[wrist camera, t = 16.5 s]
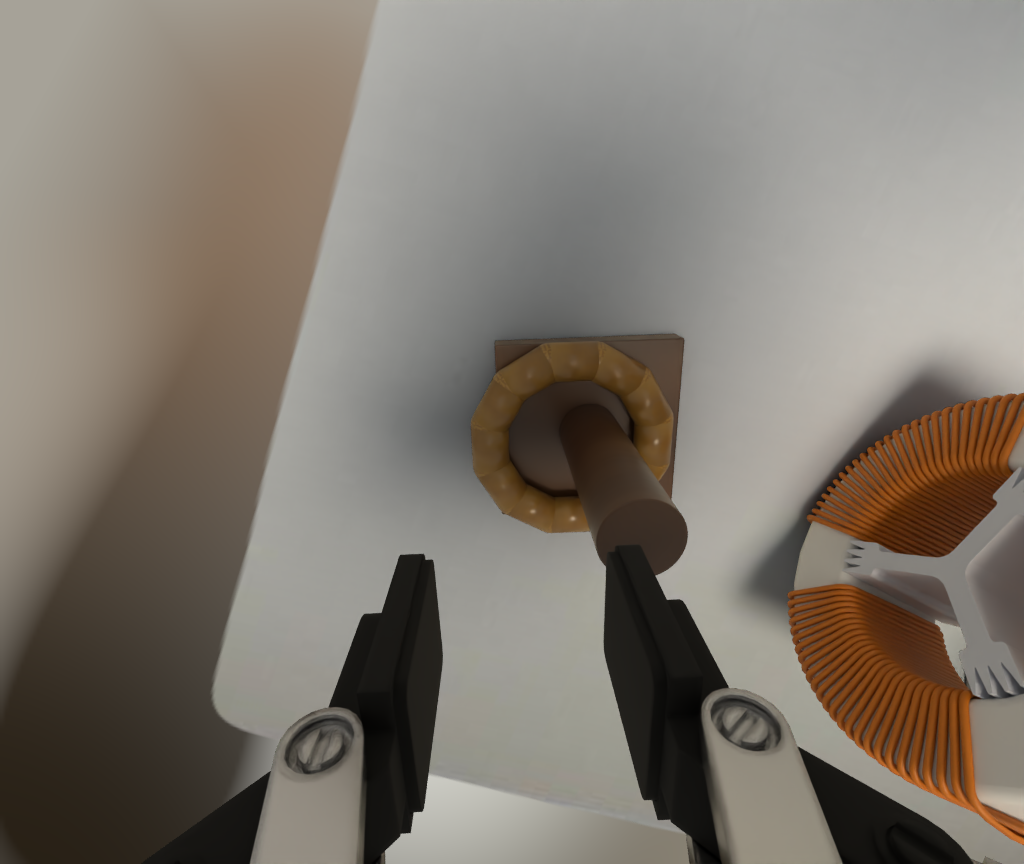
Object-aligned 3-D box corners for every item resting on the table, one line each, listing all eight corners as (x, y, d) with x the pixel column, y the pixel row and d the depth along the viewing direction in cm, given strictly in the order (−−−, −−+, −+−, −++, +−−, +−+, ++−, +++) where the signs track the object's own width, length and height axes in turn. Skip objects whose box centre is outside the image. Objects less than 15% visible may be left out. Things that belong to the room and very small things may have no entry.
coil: (734, 588, 27) (979, 942, 14) (936, 341, 23) (1603, 487, 9) (832, 636, 29) (1149, 1004, 15) (1041, 410, 24) (1763, 631, 11)
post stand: (494, 340, 23) (493, 410, 13) (675, 333, 23) (806, 397, 13) (502, 502, 25) (505, 659, 16) (663, 495, 25) (764, 647, 16)
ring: (467, 342, 21) (464, 349, 20) (672, 335, 22) (685, 341, 20) (477, 524, 24) (476, 542, 23) (658, 517, 24) (669, 534, 23)
